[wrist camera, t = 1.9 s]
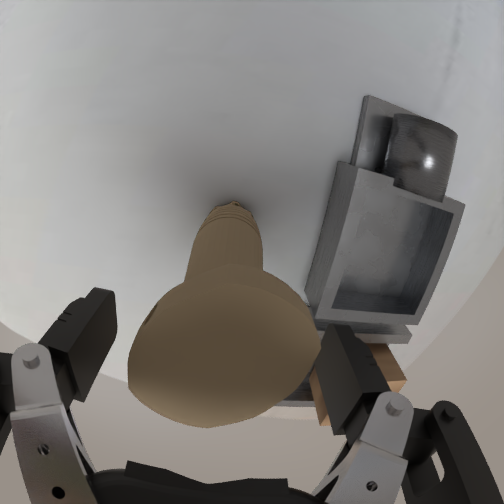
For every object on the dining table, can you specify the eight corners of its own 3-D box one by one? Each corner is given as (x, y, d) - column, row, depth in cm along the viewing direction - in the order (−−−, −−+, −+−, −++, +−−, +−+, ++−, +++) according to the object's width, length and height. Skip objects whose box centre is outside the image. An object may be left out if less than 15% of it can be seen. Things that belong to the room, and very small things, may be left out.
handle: (283, 209, 21) (352, 347, 8) (228, 269, 23) (217, 439, 9) (233, 167, 20) (214, 246, 6) (180, 232, 22) (103, 382, 8)
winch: (352, 92, 18) (385, 82, 13) (450, 134, 19) (492, 140, 14) (304, 290, 24) (318, 330, 19) (399, 301, 25) (425, 335, 20)
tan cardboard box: (328, 333, 25) (346, 382, 19) (383, 336, 25) (407, 379, 20) (308, 379, 27) (319, 426, 21) (359, 379, 28) (376, 421, 22)
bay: (201, 292, 24) (196, 316, 21) (397, 314, 26) (412, 335, 23) (194, 372, 28) (190, 397, 24) (360, 382, 30) (369, 404, 26)
